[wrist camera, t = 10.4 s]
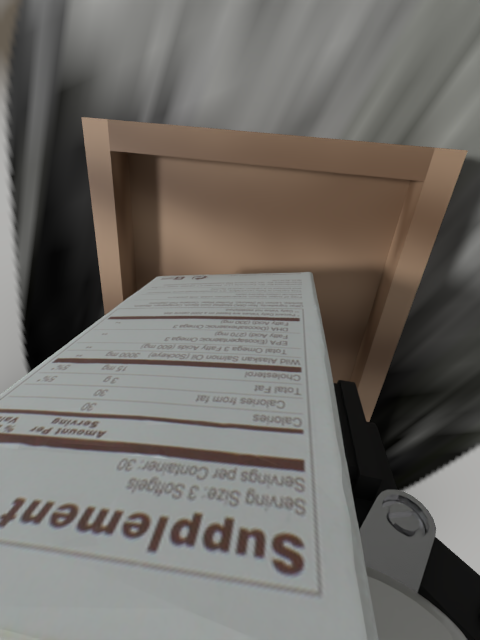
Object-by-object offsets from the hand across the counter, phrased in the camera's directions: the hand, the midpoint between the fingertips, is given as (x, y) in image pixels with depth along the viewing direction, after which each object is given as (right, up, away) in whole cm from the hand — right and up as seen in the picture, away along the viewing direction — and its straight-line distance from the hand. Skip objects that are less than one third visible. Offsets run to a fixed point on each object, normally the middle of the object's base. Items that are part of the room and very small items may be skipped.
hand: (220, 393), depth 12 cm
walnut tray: (+1, +4, +7) cm, 8 cm away
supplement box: (+1, +2, +4) cm, 4 cm away
